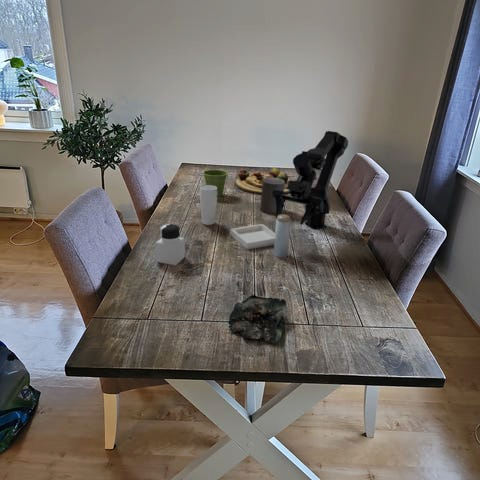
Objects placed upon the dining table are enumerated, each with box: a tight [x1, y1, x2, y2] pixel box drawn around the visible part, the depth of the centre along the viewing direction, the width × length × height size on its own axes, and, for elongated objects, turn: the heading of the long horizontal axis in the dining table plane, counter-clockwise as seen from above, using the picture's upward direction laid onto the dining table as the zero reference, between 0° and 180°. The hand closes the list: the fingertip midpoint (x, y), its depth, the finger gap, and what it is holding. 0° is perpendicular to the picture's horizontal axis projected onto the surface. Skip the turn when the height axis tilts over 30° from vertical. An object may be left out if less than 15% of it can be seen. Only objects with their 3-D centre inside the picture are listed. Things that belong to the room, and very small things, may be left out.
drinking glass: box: [199, 184, 218, 226], centre depth 169 cm, size 7×7×15 cm
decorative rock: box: [228, 294, 287, 344], centre depth 110 cm, size 19×6×15 cm
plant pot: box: [202, 169, 229, 198], centre depth 202 cm, size 12×12×11 cm
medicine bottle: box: [155, 223, 186, 266], centre depth 139 cm, size 7×7×12 cm
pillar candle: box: [260, 177, 285, 215], centre depth 185 cm, size 10×10×15 cm
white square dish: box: [229, 223, 275, 251], centre depth 158 cm, size 14×14×2 cm
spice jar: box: [273, 213, 292, 259], centre depth 145 cm, size 5×5×14 cm
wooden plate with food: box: [235, 166, 291, 196], centre depth 221 cm, size 32×32×8 cm
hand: (288, 221), depth 147 cm, fingers open, 9 cm apart
